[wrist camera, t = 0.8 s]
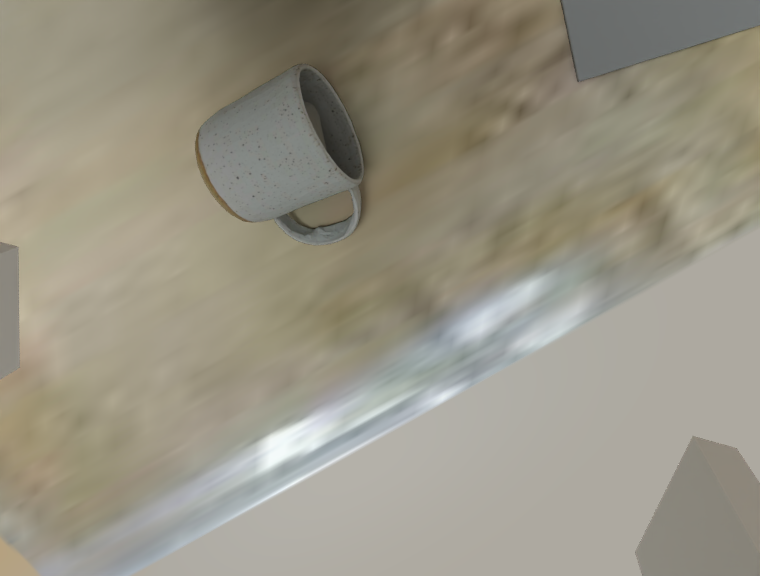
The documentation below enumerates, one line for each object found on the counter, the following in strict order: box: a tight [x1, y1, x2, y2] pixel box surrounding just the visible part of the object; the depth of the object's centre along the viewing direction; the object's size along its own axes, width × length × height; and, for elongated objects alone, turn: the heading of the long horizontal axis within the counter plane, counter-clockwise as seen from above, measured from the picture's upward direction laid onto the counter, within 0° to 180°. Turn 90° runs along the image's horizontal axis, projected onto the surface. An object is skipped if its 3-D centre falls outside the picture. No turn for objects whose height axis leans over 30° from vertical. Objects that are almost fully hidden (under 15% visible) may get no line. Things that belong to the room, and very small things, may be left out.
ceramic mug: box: [195, 64, 364, 245], centre depth 36 cm, size 11×8×8 cm
